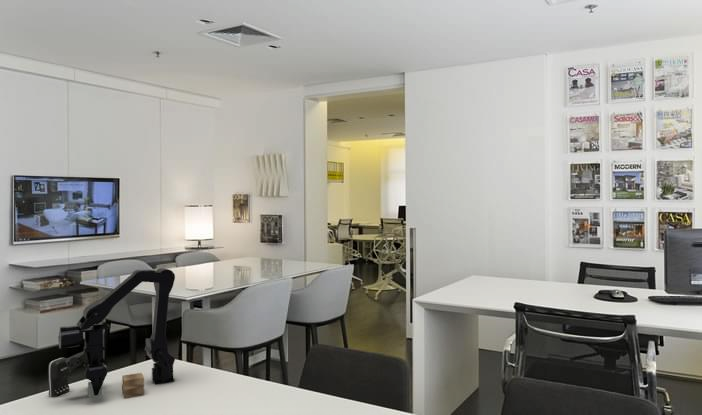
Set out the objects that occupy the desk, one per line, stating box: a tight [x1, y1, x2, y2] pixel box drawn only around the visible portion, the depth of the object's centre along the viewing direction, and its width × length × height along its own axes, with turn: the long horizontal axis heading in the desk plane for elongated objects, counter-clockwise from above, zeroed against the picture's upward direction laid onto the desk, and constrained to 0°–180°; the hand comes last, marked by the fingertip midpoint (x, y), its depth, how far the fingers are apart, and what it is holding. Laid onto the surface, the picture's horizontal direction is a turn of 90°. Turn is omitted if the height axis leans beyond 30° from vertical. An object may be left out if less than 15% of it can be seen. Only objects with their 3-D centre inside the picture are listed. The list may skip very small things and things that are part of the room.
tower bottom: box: [121, 384, 145, 400], centre depth 177 cm, size 6×6×3 cm
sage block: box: [87, 381, 103, 398], centre depth 177 cm, size 4×4×4 cm
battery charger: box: [47, 357, 72, 397], centre depth 178 cm, size 7×4×11 cm, turn 166°
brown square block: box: [121, 372, 145, 390], centre depth 177 cm, size 6×6×3 cm
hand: (95, 390), depth 177 cm, fingers open, 9 cm apart
